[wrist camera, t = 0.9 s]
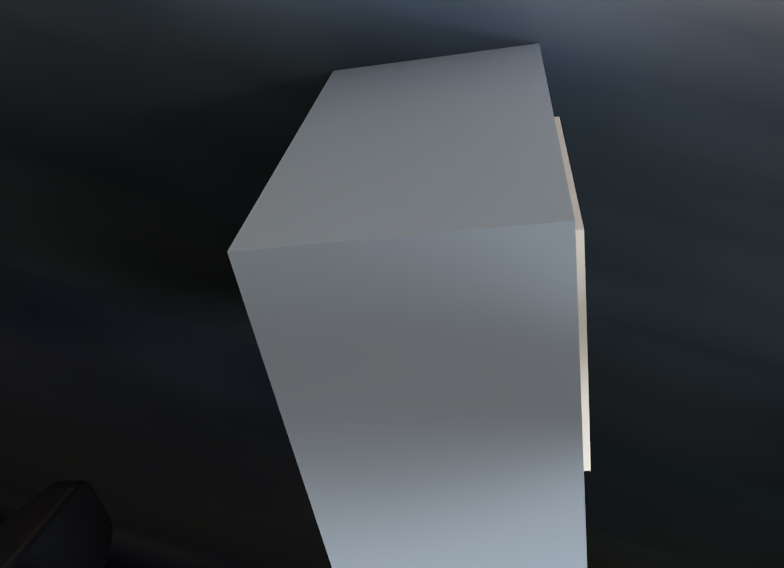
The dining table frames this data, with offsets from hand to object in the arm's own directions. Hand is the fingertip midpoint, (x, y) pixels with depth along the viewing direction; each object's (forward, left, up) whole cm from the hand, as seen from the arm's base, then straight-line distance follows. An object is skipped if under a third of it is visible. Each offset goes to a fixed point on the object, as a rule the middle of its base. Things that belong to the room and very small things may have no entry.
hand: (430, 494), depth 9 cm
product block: (0, 0, -8) cm, 8 cm away
